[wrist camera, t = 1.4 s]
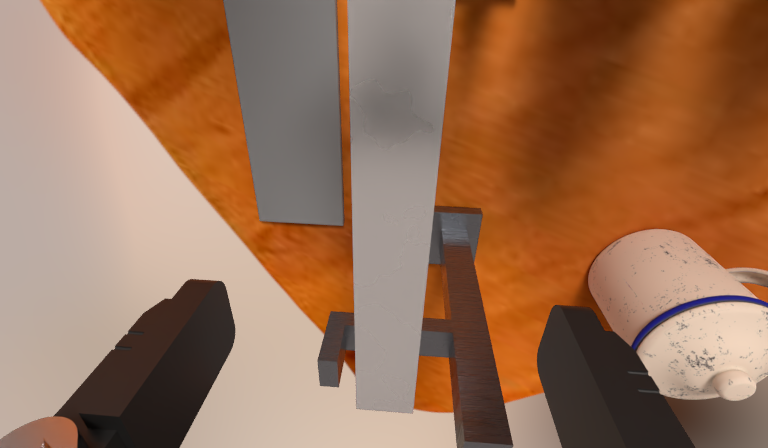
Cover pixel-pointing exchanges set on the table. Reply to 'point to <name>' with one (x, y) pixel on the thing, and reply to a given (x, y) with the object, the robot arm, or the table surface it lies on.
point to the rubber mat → (290, 106)
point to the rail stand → (447, 334)
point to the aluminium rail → (394, 184)
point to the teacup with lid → (684, 314)
